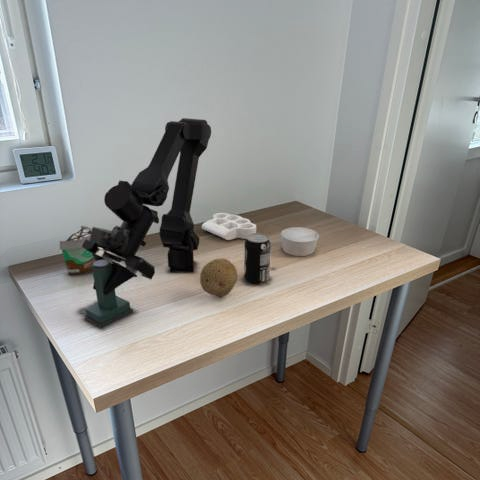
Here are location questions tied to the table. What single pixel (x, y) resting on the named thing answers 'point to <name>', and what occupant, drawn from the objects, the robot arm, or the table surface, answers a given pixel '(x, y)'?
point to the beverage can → (257, 258)
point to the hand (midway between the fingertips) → (99, 291)
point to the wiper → (105, 299)
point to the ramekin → (299, 241)
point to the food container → (77, 252)
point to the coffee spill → (85, 310)
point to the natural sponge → (218, 277)
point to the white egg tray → (229, 226)
